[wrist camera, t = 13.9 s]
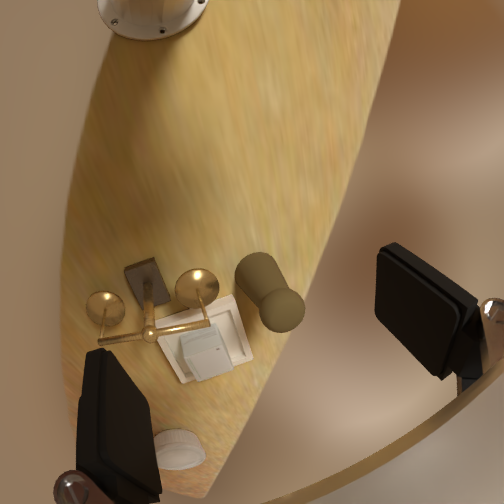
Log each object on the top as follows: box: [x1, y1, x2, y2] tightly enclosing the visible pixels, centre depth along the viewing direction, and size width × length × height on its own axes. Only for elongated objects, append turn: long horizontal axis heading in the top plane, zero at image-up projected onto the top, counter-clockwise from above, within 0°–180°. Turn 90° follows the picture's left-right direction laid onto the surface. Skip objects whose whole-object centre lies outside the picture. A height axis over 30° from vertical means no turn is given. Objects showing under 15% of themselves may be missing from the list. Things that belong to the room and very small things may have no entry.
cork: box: [235, 252, 305, 333], centre depth 38 cm, size 6×6×11 cm
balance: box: [86, 257, 219, 346], centre depth 33 cm, size 6×17×12 cm, turn 103°
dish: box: [155, 294, 254, 384], centre depth 44 cm, size 12×12×2 cm
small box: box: [180, 323, 234, 382], centre depth 41 cm, size 6×6×5 cm
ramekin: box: [154, 429, 206, 470], centre depth 51 cm, size 11×11×5 cm
